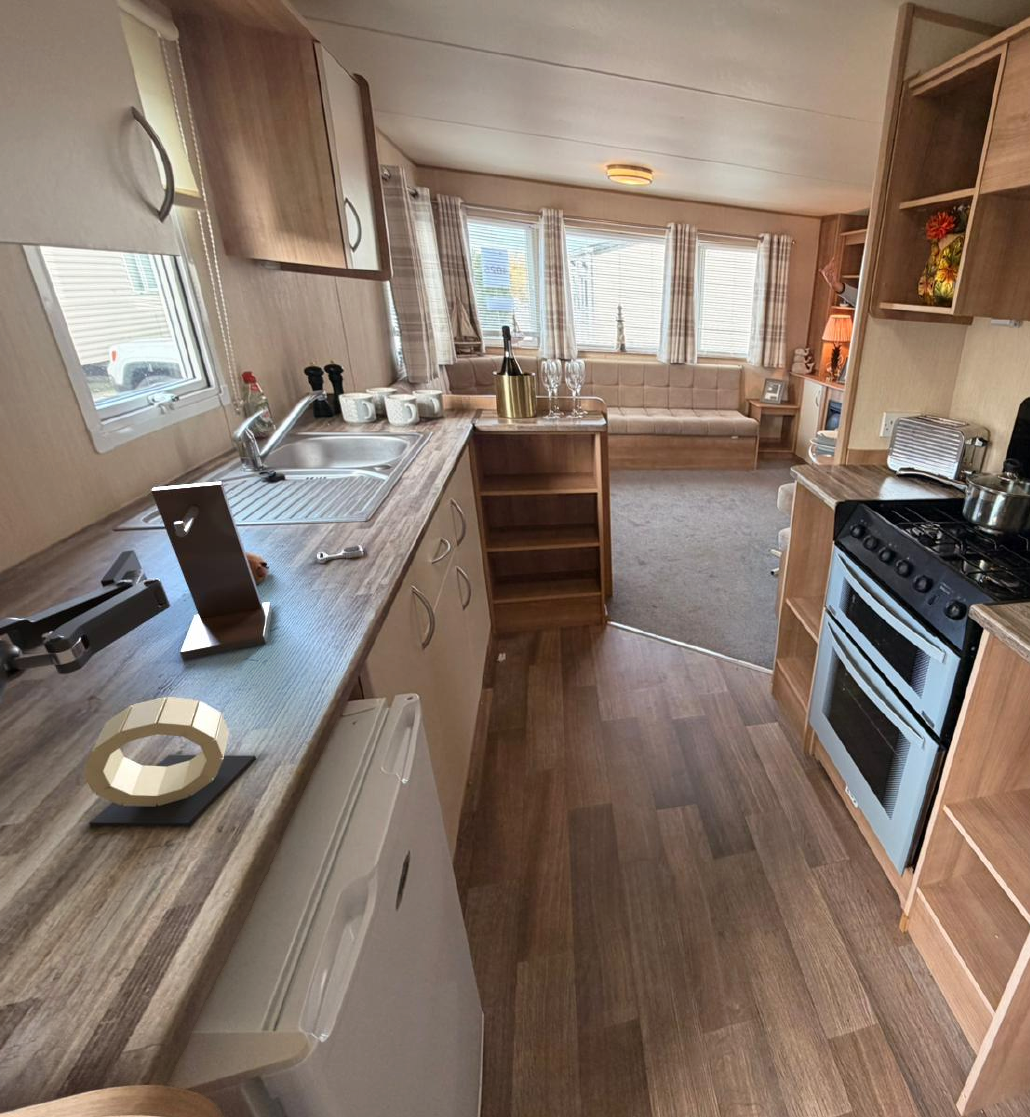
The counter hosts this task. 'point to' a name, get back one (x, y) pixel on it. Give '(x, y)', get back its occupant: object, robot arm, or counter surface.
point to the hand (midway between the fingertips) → (23, 579)
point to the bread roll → (257, 567)
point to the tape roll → (157, 783)
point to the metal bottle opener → (341, 554)
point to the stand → (213, 570)
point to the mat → (181, 810)
